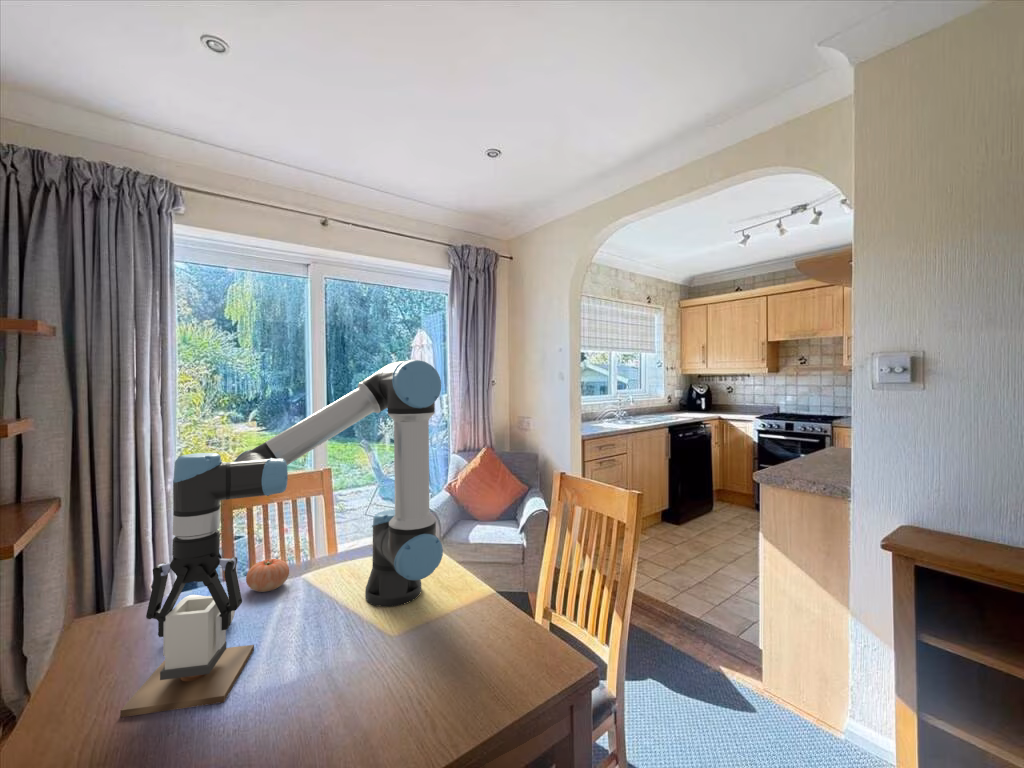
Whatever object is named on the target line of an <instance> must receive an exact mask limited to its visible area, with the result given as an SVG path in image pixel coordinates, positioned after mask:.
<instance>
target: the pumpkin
mask: <svg viewBox="0 0 1024 768" xmlns="http://www.w3.org/2000/svg"><path fill="white" fill-rule="evenodd" d="M289 575H290V567H289V565H288V563H287V562H286V561H284V560H283V559H279V558H267V559H264V560H261V561H258V562H256V563H255V564H253V565H252V566H251V567H250V568H249V570H248V571H247V573H246V575H245V576H246V578H245V581H246V585H247V586H248V588H250V589H251V590H253V591H255V592H260V593H261V592H262V593H264V592H265V593H266V592H270V591H275V590H277V588H279V587H281V586H282V585H284V584H285V582H286V581H287V580H288V578H289Z"/></svg>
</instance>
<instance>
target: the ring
mask: <svg viewBox="0 0 1024 768" xmlns="http://www.w3.org/2000/svg"><path fill="white" fill-rule="evenodd" d="M226 648H227V641H225V643H224V644H223V646H222V647H221V649H219V650H218V651H217V652H216V653H215V655H214V656H213V658H212V659H211V660H210V662H209V663H208V665H200V666H192V667H184V668H176V669H168V670H165V667H164V668H163V669H162V671H161V672H160V680H166V679H173V678H181V677H189V676H196V675H204V674H209V673H210V672H211V670H212V669H213V667H214V666H215V664H216V663H217V662H218V660H219V659H220V657H221V656H222V654H223V653H224V651H225V650H226Z"/></svg>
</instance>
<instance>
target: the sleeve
mask: <svg viewBox="0 0 1024 768" xmlns="http://www.w3.org/2000/svg"><path fill="white" fill-rule="evenodd" d="M203 596H204V597H194V598H185V597H183V598H184V599H183V598H182V599H183V600H182V599H181V600H182V601H181V600H180V601H181V602H180V601H179V602H180V603H179V602H178V603H179V604H178V603H177V604H178V605H177V604H176V605H177V606H176V605H175V606H174V607H173V609H172V611H171V612H170V613H169V614H168V615H167V616H166V626H165V656H164V660H165V670H168V669H176V668H184V667H192V666H200V665H208V663H209V662H210V660H211V659H212V658H213V656H214V655H215V653H216V652H217V651H218V650H216V616H217V615H218V614H219V612H220V611H219V609H218V607H217V605H216V603H215V601H214V599H213V598H212V596H211V595H208V596H207V595H203Z"/></svg>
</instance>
